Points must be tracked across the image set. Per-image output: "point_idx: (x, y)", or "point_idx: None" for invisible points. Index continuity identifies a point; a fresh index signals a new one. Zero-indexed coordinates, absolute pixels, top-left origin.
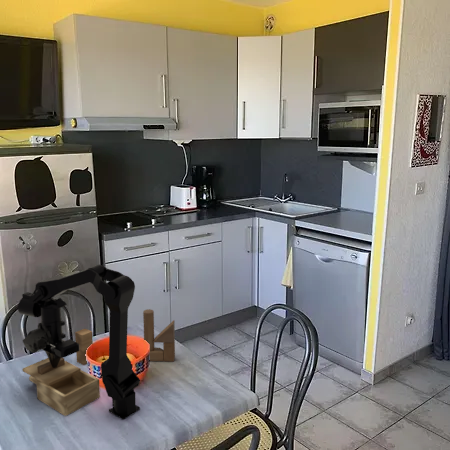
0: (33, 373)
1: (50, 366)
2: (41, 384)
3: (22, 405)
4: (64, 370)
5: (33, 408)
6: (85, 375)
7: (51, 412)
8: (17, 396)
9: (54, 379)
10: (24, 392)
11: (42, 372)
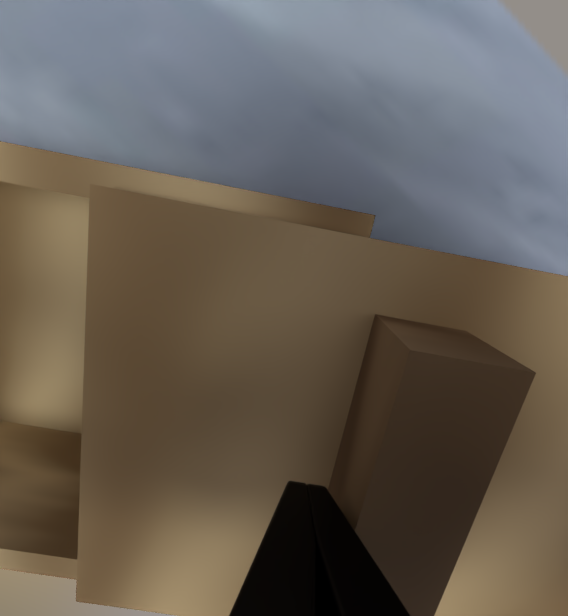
0: (511, 289)
1: (353, 487)
2: (250, 191)
3: (373, 94)
4: (197, 510)
5: (263, 106)
6: (12, 536)
7: (102, 136)
8: (503, 169)
9: (116, 308)
10: (490, 236)
11: (377, 340)
